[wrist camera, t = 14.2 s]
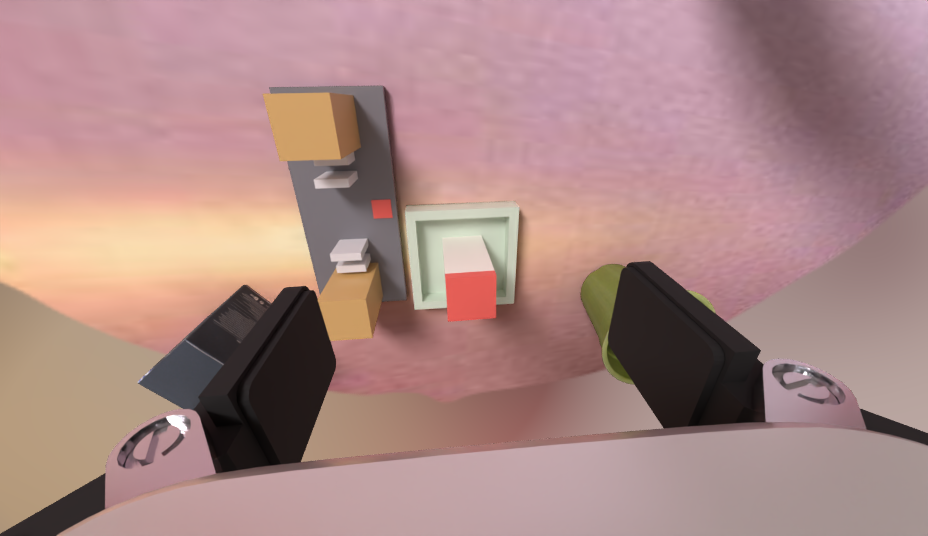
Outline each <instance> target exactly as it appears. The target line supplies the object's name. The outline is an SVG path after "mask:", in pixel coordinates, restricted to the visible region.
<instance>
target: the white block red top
mask: <svg viewBox="0 0 928 536" xmlns="http://www.w3.org/2000/svg"><path fill="white" fill-rule="evenodd" d="M442 244H443V259H444V274H445V287H446V301H447V314H448V322H449V321H462V320H475V319H488V318H496V276H497V275H496V273H495V270H494V268H493V265H492V262H491V260H490V257H489V254H488V252H487V249H486V246H485V244H484V241H483V238H482V236H481V235H478V236H462V237H446V238H442Z"/></svg>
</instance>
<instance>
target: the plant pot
mask: <svg viewBox="0 0 928 536" xmlns="http://www.w3.org/2000/svg"><path fill="white" fill-rule="evenodd" d="M623 268H626V267H625V266H622V265H619V264H609V265H605V266H602V267H601V268H599V269H598V270H596V271H594V272H593V273H591V274H590V275H589V276H588V277H587V278H586V280H585V281H584V283H583V285H582V288H581V300H582V302H583V305H584V307H585V309H586V311H587V313H588V315H589V317H590V320H591V322H592V324H593V326H594V328H595V330H596V333H597V335H598V337H599V341H600V345H601V347H602V359H603V363H604V365H605V367H606V369H607V370H608V372H609V373H610V374H611V375H612V376H614V377H615V378H616V379H618V380H620V381H622V382H625V383H628V384H634V383H633V381H632V380H631V378H630V377H629V375H628V374H627V372H626V371H625V369H624V368H623V366H622V365H621V363H620V362H619V360H618V359H617V357H616V356H615V354H614V353H613V351H612V350H611V348H610V346H609V343H608V333H609V328H610V323H611V318H612V313H613V308H614V304H615V299H616V294H617V289H618V284H619V279H620V274H621V271H622V269H623ZM687 291H688V292H689V293H690V294H692V295H693V296H694V297H695V298H697V299H698V300H699V301H700V302H702V303H703V304H704V305H705V306H707V307H708V308H709V309H710V310H712V311H713V312H714V313H715V314H716V312H715V310H714V307H713V306H712V304H711V303H710V302H709V301H708V300H707V299H706V298H705V297H704V296H702V295H701V294H698V293H696V292H693V291H690V290H687ZM634 385H635V384H634Z"/></svg>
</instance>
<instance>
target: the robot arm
mask: <svg viewBox="0 0 928 536" xmlns="http://www.w3.org/2000/svg"><path fill="white" fill-rule="evenodd" d="M608 343H609V346H610V348H611V350H612V351H613V353H614V354H615V356H616V357H617V359H618V360H619V362H620V363H621V365H622V366H623V368H624V369H625V371H626V372H627V374H628V375H629V377H630V378H631V380H632V381H633V383H634V384H635V386H636V387H637V389H638V390H639V392H640V393H641V395H642V396H643V398H644V399H645V401H646V402H647V404H648V405H649V407H650V408H651V410H652V411H653V413H654V414H655V416H656V417H657V419H658V420H659V421H660V423H661V425H662V426H663V428H664V429H653V430H642V431H630V432H618V433H606V434H594V435H583V436H571V437H560V438H549V439H538V440H526V441H515V442H505V443H493V444H482V445H471V446H461V447H450V448H439V449H429V450H418V451H408V452H398V453H388V454H378V455H367V456H356V457H346V458H335V459H326V460H317V461H308V462H301V460H302V457H303V454H304V451H305V449H306V446H307V444H308V441H309V438H310V436H311V433H312V430H313V427H314V425H315V422H316V420H317V417H318V414H319V411H320V409H321V406H322V403H323V401H324V398H325V395H326V393H327V390H328V387H329V385H330V382H331V379H332V377H333V374H334V371H335V368H336V359H335V355H334V352H333V348H332V345H331V342H330V339H329V335H328V332H327V329H326V325H325V322H324V319H323V316H322V312H321V309H320V306H319V303H318V299H317V296H316V293H315V292H314V291H313V290H309V289H308V287H306V286H299V287H286V288H284V289H283V290H282V291H281V292H280V294H279V295H278V296H277V298H276V299H275V300H274V301H273V303H272V304H271V305H270V306H269V308H268V309H267V310H266V312H265V313H264V314H263V315H262V317H261V318H260V319H259V320H258V322H257V323H256V324H255V325H254V327H253V328H252V329H251V331H250V332H249V333H248V334H247V336H246V337H245V338H244V339H243V341H242V342H241V343H240V344H239V346H238V347H237V348H236V350H235V351H234V352H233V353H232V355H231V356H230V357H229V358H228V360H227V361H226V362H225V363H224V365H223V366H222V367H221V369H220V370H219V371H218V372H217V374H216V375H215V376H214V377H213V379H212V380H211V381H210V382H209V384H208V385H207V386H206V388H205V389H204V390H203V391H202V393H201V394H200V395H199V396H198V398H199V400H200V402H199V403H198V404H197V406H196V407H195V408H194V410H190V409H177V410H172V411H169V412H165V413H163V414H160V415H158V416H155V417H153V418H151V419H149V420H147V421H146V422H144V423H142V424H140V425H139V426H137V427H136V428H135V429H133V430H132V431H131V432H129V433H128V434H127V435H126V436H125V437H124V438H123V439H122V440H121V441H120V442H119V443H118V444H117V445H116V446H115V447H114V449H113V450H112V452H111V453H110V455H109V456H108V459H107V463H106V473H105V474H103V475H101V476H100V477H98V478H96V479H94V480H93V481H91V482H89V483H88V484H86V485H84V486H82V487H81V488H79V489H77V490H75V491H74V492H72V493H70V494H68V495H67V496H65V497H63V498H61V499H60V500H58V501H56V502H55V503H53V504H51V505H49V506H48V507H46V508H44V509H42V510H41V511H39V512H37V513H35V514H34V515H32V516H30V517H28V518H27V519H25V520H23V521H22V522H20V523H18V524H16V525H15V526H13V527H11V528H10V529H8V530H6V531H4V532H2V533H1V534H0V536H928V433H925V432H923V431H920V430H917V429H915V428H912V427H909V426H906V425H904V424H901V423H898V422H895V421H893V420H890V419H887V418H884V417H882V416H879V415H876V414H873V413H871V412H868V411H865V410H863V409H860V408H859V405H858V403H857V400H856V398H855V396H854V394H853V393H852V391H851V390H850V389H849V388H848V387H847V386H846V385H845V384H844V383H843V382H841V381H840V380H838V379H836V378H835V377H834V376H832V375H831V374H829V373H827V372H825V371H823V370H821V369H819V368H817V367H814V366H812V365H809V364H806V363H803V362H799V361H795V360H791V359H779V358H778V359H772V360H769V361H767V362H766V363H764V364H762V363H761V362H760V361H759V360H758V359H757V357H758V355H759V353H760V351H761V350H760V349H759V348H757V347H756V346H755V345H754V344H752V343H751V342H750V341H749V340H748V339H746V338H745V337H744V336H743V335H741V334H740V333H739V332H738V331H736V330H735V329H734V328H733V327H731V326H730V325H729V324H728V323H726V322H725V321H724V320H723V319H722V318H720V317H719V316H718V315H717V314H715V313H714V312H713V311H712V310H710V309H709V308H708V307H707V306H705V305H704V304H703V303H702V302H700V301H699V300H698V299H697V298H695V297H694V296H693V295H692V294H690V293H689V292H688V291H687V290H686V289H684V288H683V287H682V286H681V285H679V284H678V283H677V282H676V281H674V280H673V279H672V278H671V277H669V276H668V275H667V274H666V273H664V272H663V271H662V270H661V269H659V268H658V267H657V266H656V265H654V264H653V263H652V262H650V261H646V262H632V263H629V264H628V265H627V266H626V268H623V269H622V271H621V274H620V279H619V284H618V289H617V294H616V299H615V304H614V308H613V313H612V318H611V323H610V328H609V333H608Z"/></svg>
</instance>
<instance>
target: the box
mask: <svg viewBox="0 0 928 536" xmlns="http://www.w3.org/2000/svg"><path fill="white" fill-rule="evenodd" d="M270 305H271V304H270V303H269V302H268V301H267V300H265V299H264V298H263V297H261V296H260V295H259V294H257V293H256V292H255V291H254V290H252V289H251V288H250V287H248V286H247V285H243V286H242V287H241V288H240V289H238V290H237V291H236V292H235V293H234V294H233V295H232V296H231V297H230V298H228V299H227V300H226V301H225V302H224V303H223V304H222V305H221V306H219V307H218V308H217V309H216V310H215V311H214V312H213V313H211V314H210V315H209V316H208V317H207V318H206V319H205V320H204V321H202V322H201V323H200V324H199V325H198V326H197V327H196V328H195V329H194V330H193V331H192V332H191V333H190V334H188V335H187V336H186V337H185V338H184V339H183V340H182V341H181V342H180V343H179V344H178V345H177V346H175V347H174V348H173V349H172V350H171V351H170V352H169V353H168V354H167V355H166V356H165V357H164V358H163V359H161V360H160V361H159V362H158V363H157V364H156V365H155V366H154V367H153V368H152V369H151V370H150V371H149V372H148V373H146V375H144V376H143V377H142V378H141V379H140V380H139V381H138V384H140V385H142V386H143V387H145V388H147V389H149V390H151V391H152V392H154V393H156V394H158V395H160V396H161V397H163V398H165V399H167V400H169V401H170V402H172V403H174V404H176V405H178V406H179V407H181V408H183V409H190V410H194V408H195V407H196V406H197V404H198V403H199V402H200V400H199V398H198V396H199V395H200V394H201V393H202V391H203V390H204V389H205V388H206V386H207V385H208V384H209V382H210V381H211V380H212V379H213V377H214V376H215V375H216V374H217V372H218V371H219V370H220V369H221V367H222V366H223V365H224V363H225V362H226V361H227V360H228V358H229V357H230V356H231V355H232V353H233V352H234V351H235V350H236V348H237V347H238V346H239V344H240V343H241V342H242V341H243V339H244V338H245V337H246V336H247V334H248V333H249V332H250V331H251V329H252V328H253V327H254V325H255V324H256V323H257V322H258V320H259V319H260V318H261V317H262V315H263V314H264V313H265V312H266V310H267V309H268V308H269V306H270Z"/></svg>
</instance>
